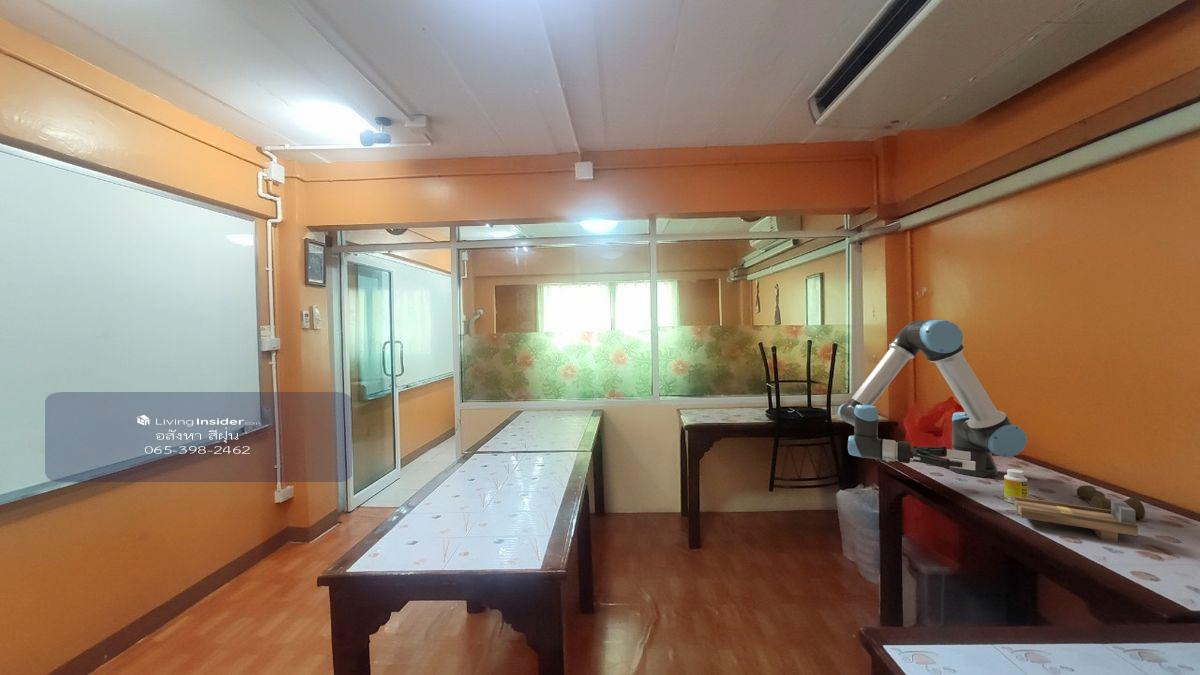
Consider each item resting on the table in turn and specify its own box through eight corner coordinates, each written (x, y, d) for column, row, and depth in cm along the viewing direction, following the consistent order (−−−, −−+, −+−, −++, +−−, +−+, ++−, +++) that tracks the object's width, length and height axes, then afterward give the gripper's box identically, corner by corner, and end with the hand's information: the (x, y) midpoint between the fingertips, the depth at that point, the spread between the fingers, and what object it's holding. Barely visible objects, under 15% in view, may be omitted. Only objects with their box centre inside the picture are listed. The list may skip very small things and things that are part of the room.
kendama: (1105, 503, 144) (1157, 527, 125) (1067, 500, 147) (1111, 524, 128) (1104, 484, 144) (1156, 505, 125) (1065, 482, 147) (1110, 503, 128)
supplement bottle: (1024, 506, 141) (1024, 474, 141) (1001, 501, 145) (1001, 470, 145) (1030, 502, 144) (1029, 471, 144) (1007, 497, 148) (1007, 466, 148)
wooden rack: (1014, 513, 136) (1014, 485, 136) (1122, 530, 123) (1122, 500, 123) (1021, 526, 128) (1021, 496, 127) (1138, 545, 115) (1137, 512, 115)
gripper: (897, 453, 173) (968, 462, 161) (896, 470, 152) (977, 482, 140) (897, 434, 173) (968, 441, 161) (896, 448, 152) (977, 458, 140)
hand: (972, 460), depth 150 cm, fingers open, 13 cm apart
